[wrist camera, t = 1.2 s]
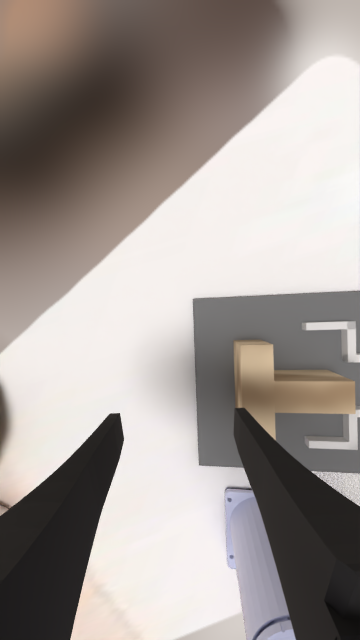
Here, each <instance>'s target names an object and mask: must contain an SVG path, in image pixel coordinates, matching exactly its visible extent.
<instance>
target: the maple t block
mask: <svg viewBox="0 0 360 640" xmlns="http://www.w3.org/2000/svg"><path fill="white" fill-rule="evenodd" d="M233 344H234V376H235V408H245V409H246V410H247V411H248V412H249V413H250V414H251V415H252V416H253V417H254V419H255V420H256V421H257V422H258V423H259V424H260V425H261V426H262V427H263V428H264V429H265V430H266V431H267V432H268V433H269V434H270V435H271V436H272V437H273V438H274V439H275V440H276V433H275V413H323V414H356V410H355V381H353V380H350V379H348V378H346V377H343V376H341V375H339V374H336V373H334V372H331V371H329V370H274V357H273V344H270V343H268V342H265V341H262V340H233Z"/></svg>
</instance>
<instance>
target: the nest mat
mask: <svg viewBox="0 0 360 640" xmlns="http://www.w3.org/2000/svg"><path fill="white" fill-rule="evenodd" d="M193 316H194V343H195V371H196V398H197V426H198V453H199V465H202V466H222V467H242V468H244V467H243V464H242V461H241V458H240V456H239V453H238V449H237V446H236V442H235V438H234V434H233V433H234V409H235V376H234V344H233V340H262V341H265V342H268V343H270V344H273V357H274V370H329V371H331V372H334V373H336V374H339V375H341V376H343V377H346V378H348V379H350V380H353V381H355V410H356V414H323V413H275V433H276V441H277V442H278V443H279V444H280V445H281V446H282V447H283V448H284V449H285V450H286V451H287V452H288V453H289V454H291V455H292V456H293V457H294V458H295V459H296V460H297V461H299V462H300V463H301V464H302V465H303V466H305V467H306V468H307V469H308V470H310V471H322V472H342V473H360V291H348V292H327V293H306V294H285V295H264V296H243V297H222V298H201V299H193Z"/></svg>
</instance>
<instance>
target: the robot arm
mask: <svg viewBox="0 0 360 640" xmlns="http://www.w3.org/2000/svg"><path fill="white" fill-rule="evenodd" d="M233 434H234V438H235V442H236V446H237V449H238V453H239V456H240V458H241V461H242V464H243V467H244V469H245V472H246V474H247V477H248V480H249V482H250V485H251V488H252V490H241V489H227V490H226V491H225V511H226V541H227V564H228V566H229V568H231V569H236V571H237V578H238V584H239V591H240V598H241V605H242V611H243V618H244V625H245V632H246V638H247V640H360V506H358V505H357V504H355V503H354V502H352V501H351V500H349V499H348V498H346V497H345V496H343V495H342V494H340V493H339V492H338V491H336V490H335V489H333V488H332V487H331V486H329V485H328V484H327V483H325V482H324V481H323V480H321V479H320V478H319V477H317V476H316V475H315V474H313V473H312V472H311V471H310V470H308V469H307V468H306V467H305V466H303V465H302V464H301V463H300V462H299V461H297V460H296V459H295V458H294V457H293V456H292V455H291V454H289V453H288V452H287V451H286V450H285V449H284V448H283V447H282V446H281V445H280V444H279V443H278V442H277V441H276V440H275V439H274V438H273V437H272V436H271V435H270V434H269V433H268V432H267V431H266V430H265V429H264V428H263V427H262V426H261V425H260V424H259V423H258V422H257V421H256V420H255V419H254V417H253V416H252V415H251V414H250V413H249V412H248V411H247V410H246V409H245V408H235V409H234V433H233ZM123 441H124V436H123V430H122V423H121V417H120V413H114V414H109V415H108V417H107V418H106V419H105V420H104V421H103V422H102V423H101V424H100V426H99V427H98V428H97V429H96V430H95V431H94V432H93V433H92V435H91V436H90V437H89V438H88V439H87V440H86V441H85V442H84V443H83V444H82V445H81V446H80V447H79V448H78V449H77V450H76V451H75V452H74V453H73V455H72V456H71V457H70V458H69V459H68V460H67V461H66V462H64V463H63V464H62V465H61V466H60V467H59V468H58V469H57V470H56V471H55V472H54V473H53V474H52V475H50V476H49V477H48V478H47V479H46V480H45V481H44V482H42V483H41V484H40V485H39V486H38V487H36V488H35V489H34V490H33V491H31V492H30V493H29V494H28V495H27V496H25V497H24V498H23V499H22V500H20V501H19V502H18V503H17V504H15V505H14V506H13V507H11V508H10V509H9V510H7V511H6V512H5V513H3V514H2V515H1V516H0V640H70V638H71V634H72V629H73V624H74V620H75V615H76V611H77V607H78V603H79V598H80V594H81V590H82V586H83V581H84V577H85V573H86V569H87V565H88V561H89V557H90V553H91V549H92V545H93V541H94V537H95V534H96V530H97V526H98V522H99V519H100V515H101V512H102V509H103V506H104V503H105V500H106V497H107V494H108V491H109V488H110V485H111V482H112V479H113V476H114V474H115V471H116V468H117V465H118V462H119V459H120V455H121V450H122V446H123ZM229 498H230V499H229Z"/></svg>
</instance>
